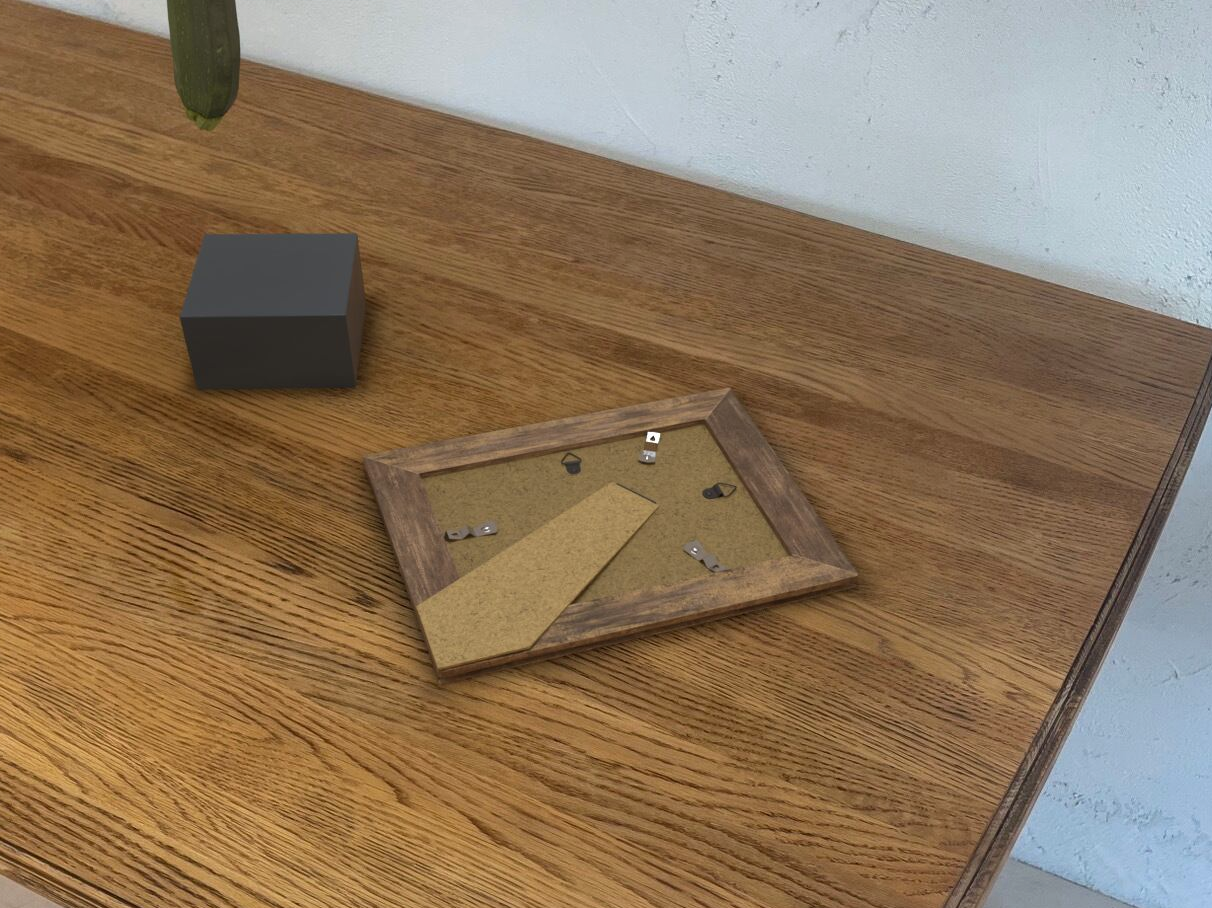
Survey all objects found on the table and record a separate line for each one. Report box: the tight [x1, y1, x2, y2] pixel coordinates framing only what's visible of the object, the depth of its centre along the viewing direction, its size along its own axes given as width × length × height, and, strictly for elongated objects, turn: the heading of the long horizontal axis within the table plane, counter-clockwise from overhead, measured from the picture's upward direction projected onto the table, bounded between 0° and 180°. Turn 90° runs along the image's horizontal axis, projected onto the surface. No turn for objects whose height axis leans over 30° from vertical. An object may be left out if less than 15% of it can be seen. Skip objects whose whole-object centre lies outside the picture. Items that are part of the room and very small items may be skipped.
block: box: [179, 232, 367, 391], centre depth 88 cm, size 10×10×6 cm
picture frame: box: [362, 387, 859, 685], centre depth 78 cm, size 19×2×24 cm
